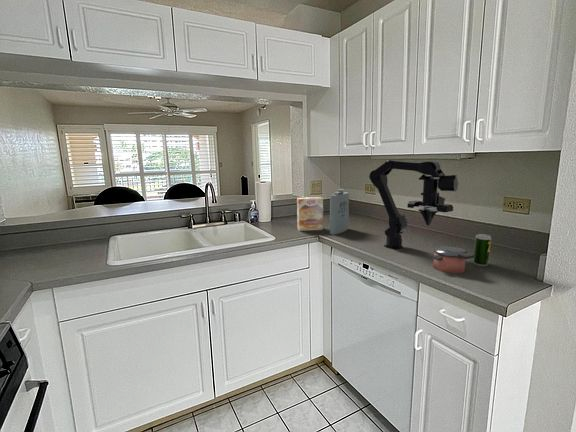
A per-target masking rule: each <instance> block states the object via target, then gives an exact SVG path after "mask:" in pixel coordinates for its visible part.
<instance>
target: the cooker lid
mask: <svg viewBox="0 0 576 432" xmlns="http://www.w3.org/2000/svg"><path fill="white" fill-rule="evenodd" d="M434 252H435V253H436V254H439V255H442V256H448V257H460V258H463V259H466V260H470V259H473V258H474V254H471V253H468V251H467V250H466V249H464V248H461V247H456V246H444V245H442V246H436V247H434V248H433V253H434Z"/></svg>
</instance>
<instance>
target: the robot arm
mask: <svg viewBox="0 0 576 432" xmlns="http://www.w3.org/2000/svg"><path fill="white" fill-rule="evenodd" d="M393 170H403V171H414V172H417V173H419V174H422V175H421V176H420V177H418V180H419V181H423V185H422V192H420V196H422V201H421V200H409V201H407V204H406V205H407V208H408V209H414V208H415V207H417V208H418V209H417V210H418V212H420V214H421V215H422V217H423V220H424V222H425V224H426V226H428V227H429V226H431V223H432V221H433V219H434V217H435V215H436V214H437V213H439V212H440V213H450V212H451V213H452V212H453V211H454V206H453V205H452V204H451V203H445V201H446V198H445V197H442V196H440V192H438V190H439V191H441V192H457V190H458V188H459V182H458V181H459V180H458V176H457V174H451V175H449V174H445V173H444V172H443V170H442V169H441V164H440V163H439V162H438V161H435V160H432V161H430V160H429V161H420V162H416V161H415V162H414V161H404V160H403V161H402V160H394V159H388V160H386V161H385V162H384V163H383V164H382V165H380V166H378V167H377V168H376V169H373V170H372V171H370V172H369V175H368V178H369V180H370V182H371V183H372V185H373V186H374V188H376V189H377V190H378V193H379V196H380V198H381V200H382V203H383V205H384V207H385V211H386V213H387V215H388V228H386V229H385V230H384V234H385V236H386V242H385V243H386V244H384V247H386V248H389V249H392V250H397V249H401V248H403V247H404V246H403V245H402V242H403V238H402V234H403V233H404V231H406V229H407V228H408V221H407V219H406V216H405V214H402V215H401V214H400V212H399V210H398V209H397V206H396V203H395V201H394V199H393V196H392V194H391V191H390V189H389V186H388V177H387V176H388V175H389V174H391V172H392V171H393Z"/></svg>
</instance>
